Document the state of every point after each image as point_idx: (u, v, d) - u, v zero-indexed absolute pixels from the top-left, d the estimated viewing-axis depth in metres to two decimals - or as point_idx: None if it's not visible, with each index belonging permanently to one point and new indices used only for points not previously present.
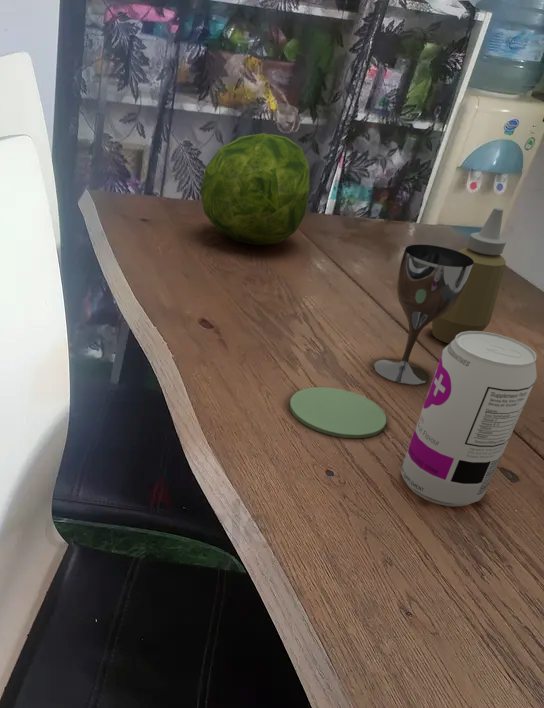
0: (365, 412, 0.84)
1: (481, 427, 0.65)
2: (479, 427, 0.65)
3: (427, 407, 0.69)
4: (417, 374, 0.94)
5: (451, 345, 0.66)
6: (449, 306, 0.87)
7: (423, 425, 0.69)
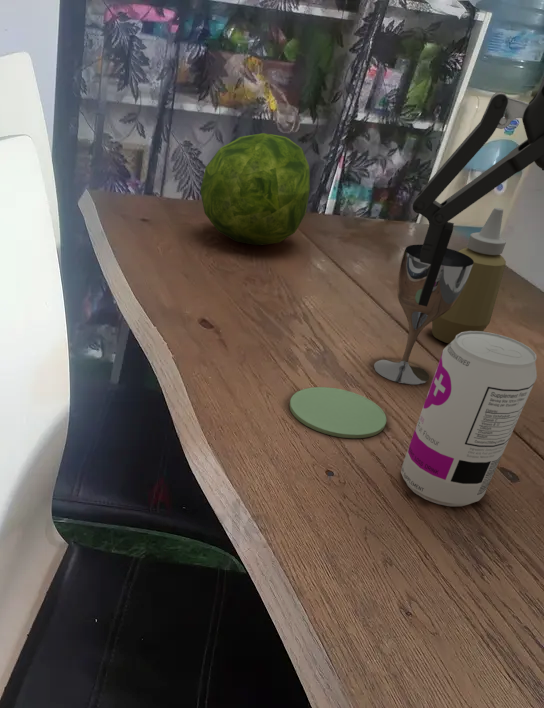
0: (365, 412, 0.84)
1: (481, 427, 0.65)
2: (479, 427, 0.65)
3: (427, 406, 0.69)
4: (417, 374, 0.94)
5: (451, 345, 0.66)
6: (449, 306, 0.87)
7: (423, 425, 0.69)
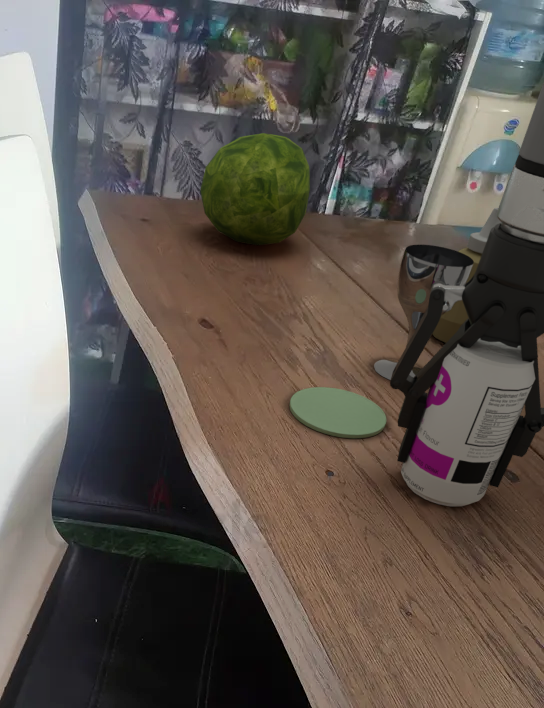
0: (365, 412, 0.84)
1: (481, 427, 0.65)
2: (479, 427, 0.65)
3: (427, 406, 0.69)
4: None
5: None
6: None
7: (423, 425, 0.69)
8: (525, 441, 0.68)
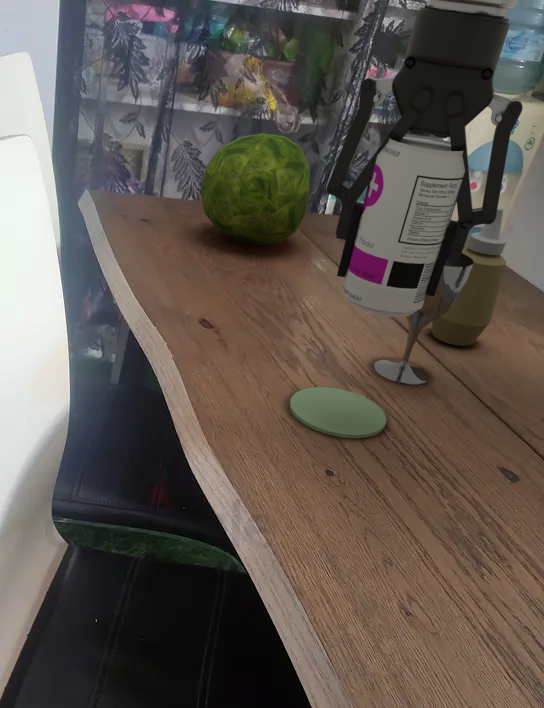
0: (365, 412, 0.84)
1: (413, 222, 0.66)
2: (411, 222, 0.66)
3: (363, 212, 0.70)
4: (417, 374, 0.94)
5: None
6: (449, 306, 0.87)
7: (359, 231, 0.70)
8: (458, 244, 0.69)
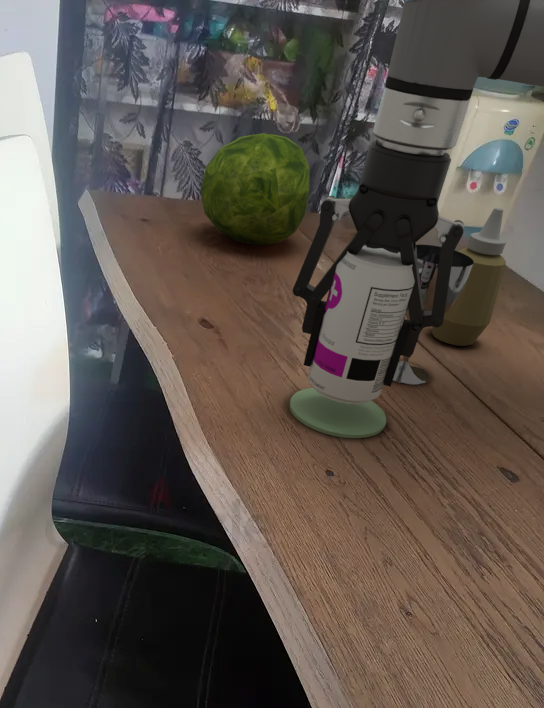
0: (365, 412, 0.84)
1: (368, 326, 0.74)
2: (367, 325, 0.74)
3: (325, 312, 0.77)
4: (417, 374, 0.94)
5: None
6: (449, 306, 0.87)
7: (322, 329, 0.78)
8: (411, 342, 0.76)
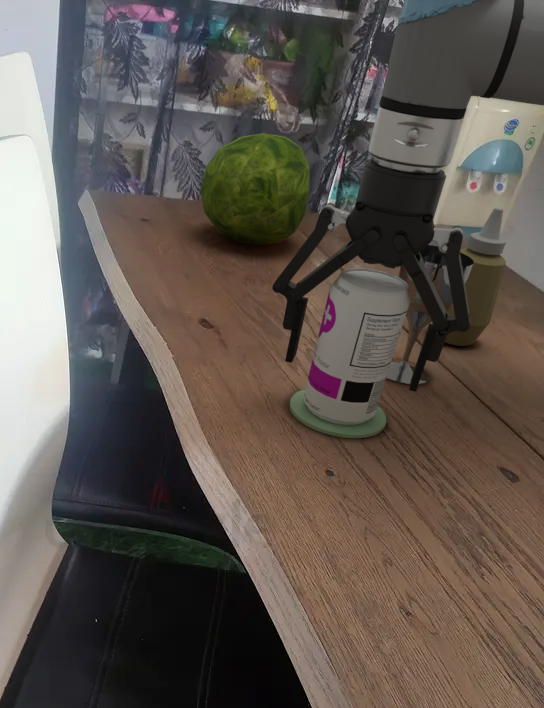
0: None
1: (362, 350, 0.75)
2: (360, 349, 0.75)
3: (320, 335, 0.79)
4: None
5: (337, 279, 0.76)
6: (449, 306, 0.87)
7: (317, 352, 0.79)
8: (437, 346, 0.76)
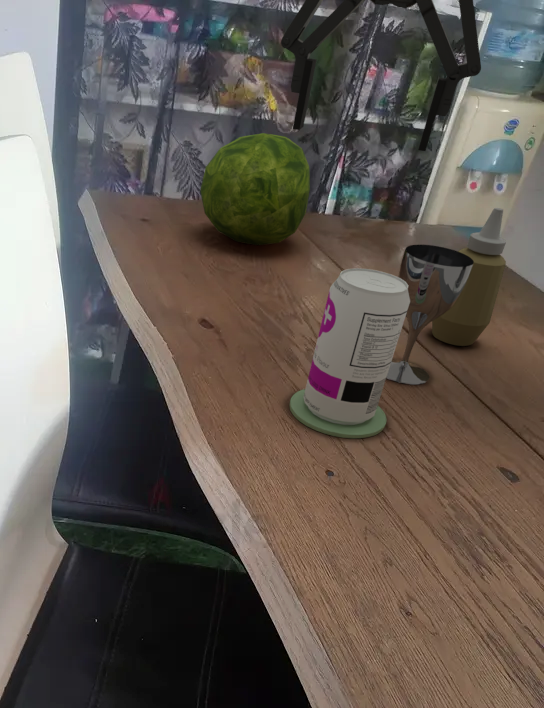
0: None
1: (362, 350, 0.75)
2: (360, 349, 0.75)
3: (320, 335, 0.79)
4: (417, 374, 0.94)
5: (337, 279, 0.76)
6: (449, 306, 0.87)
7: (317, 352, 0.79)
8: (447, 98, 0.75)
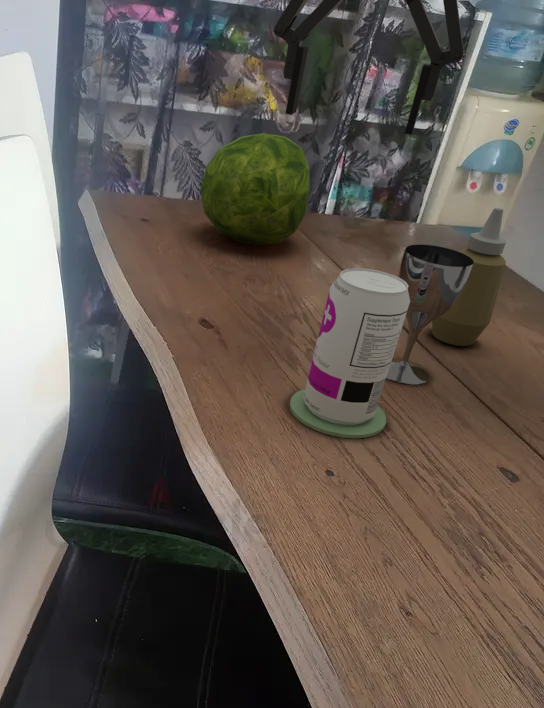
0: None
1: (362, 350, 0.75)
2: (360, 349, 0.75)
3: (320, 335, 0.79)
4: (417, 374, 0.94)
5: (337, 279, 0.76)
6: (449, 306, 0.87)
7: (317, 352, 0.79)
8: (432, 83, 0.79)
